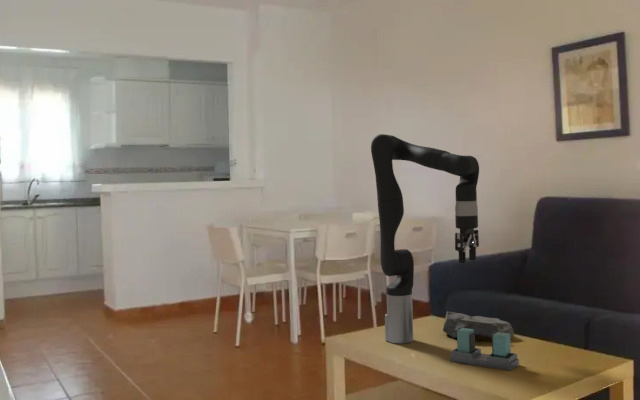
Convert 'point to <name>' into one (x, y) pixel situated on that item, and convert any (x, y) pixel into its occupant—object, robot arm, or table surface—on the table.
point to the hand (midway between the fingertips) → (467, 261)
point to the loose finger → (466, 340)
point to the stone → (475, 325)
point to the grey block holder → (496, 359)
